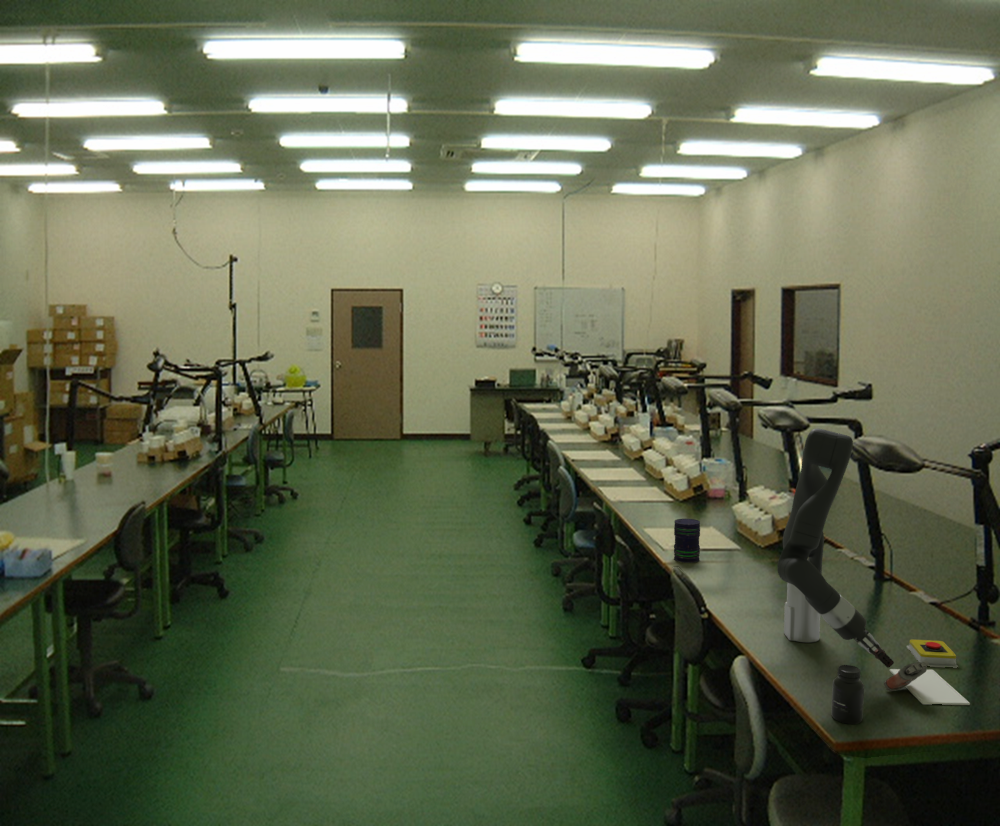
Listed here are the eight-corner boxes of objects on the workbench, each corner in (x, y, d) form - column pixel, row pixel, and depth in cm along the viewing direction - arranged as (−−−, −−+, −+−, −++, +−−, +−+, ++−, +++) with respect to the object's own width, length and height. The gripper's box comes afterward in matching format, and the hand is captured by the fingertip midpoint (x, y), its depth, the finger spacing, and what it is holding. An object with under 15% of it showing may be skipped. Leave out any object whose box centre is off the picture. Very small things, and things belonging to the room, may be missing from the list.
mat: (922, 704, 208) (922, 702, 208) (889, 670, 228) (889, 669, 228) (969, 705, 208) (969, 703, 208) (932, 671, 227) (932, 669, 227)
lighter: (889, 693, 215) (911, 677, 208) (880, 681, 217) (902, 664, 209) (912, 684, 218) (935, 667, 211) (904, 671, 220) (926, 655, 212)
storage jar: (699, 556, 340) (700, 519, 338) (699, 563, 330) (700, 524, 329) (674, 555, 342) (674, 518, 340) (673, 562, 332) (673, 523, 331)
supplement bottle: (831, 722, 199) (832, 672, 198) (831, 709, 206) (832, 661, 204) (863, 727, 197) (865, 676, 196) (862, 714, 203) (864, 664, 202)
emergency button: (922, 652, 231) (905, 632, 245) (922, 668, 231) (905, 647, 246) (960, 654, 229) (941, 633, 244) (959, 670, 230) (940, 649, 244)
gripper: (862, 615, 210) (912, 664, 211) (844, 597, 223) (891, 644, 224) (839, 636, 211) (889, 685, 211) (822, 617, 224) (869, 664, 225)
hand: (890, 664), depth 218 cm, fingers closed
